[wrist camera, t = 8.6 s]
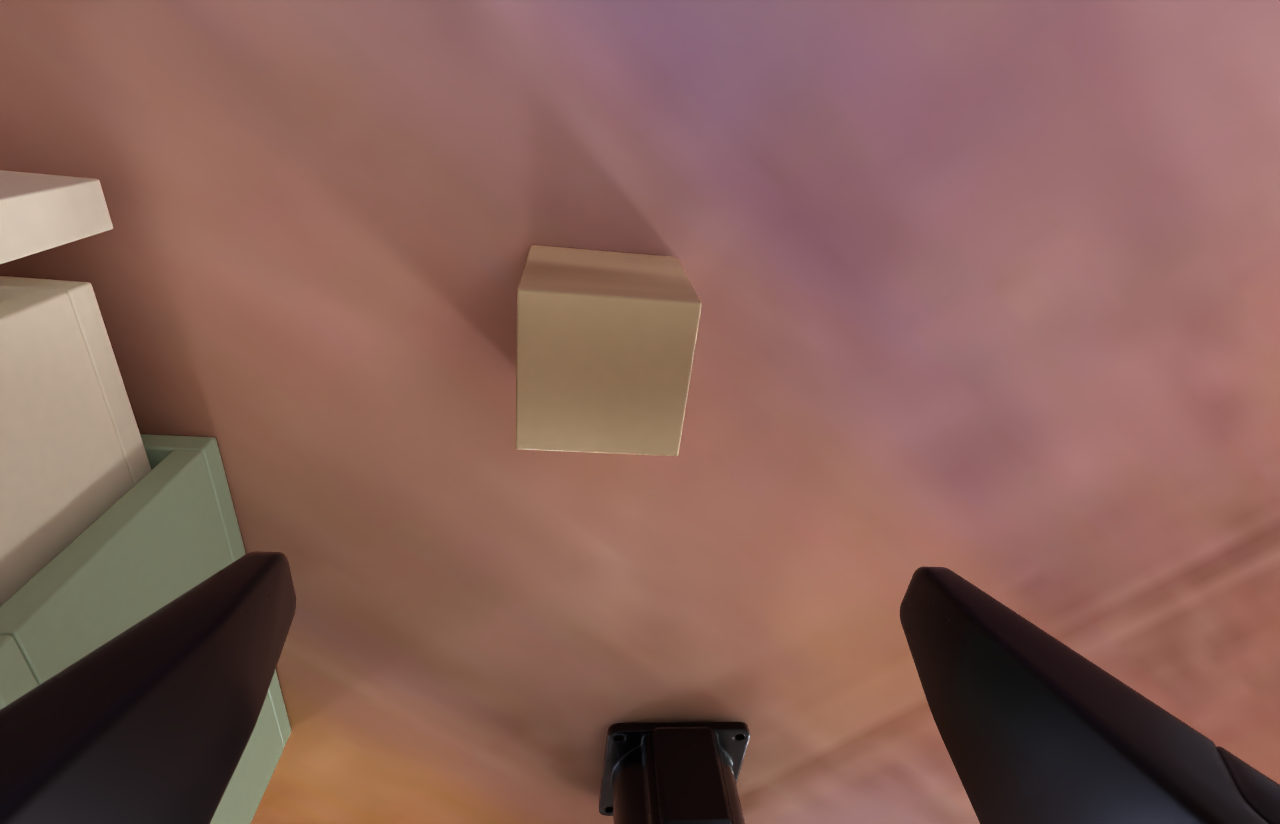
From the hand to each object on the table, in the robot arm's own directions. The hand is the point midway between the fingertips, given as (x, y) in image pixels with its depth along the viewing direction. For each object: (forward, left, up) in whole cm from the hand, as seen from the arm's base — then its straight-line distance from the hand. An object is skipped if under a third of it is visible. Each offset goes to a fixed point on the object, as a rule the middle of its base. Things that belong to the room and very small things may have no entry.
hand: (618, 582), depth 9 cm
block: (0, 0, -11) cm, 11 cm away
